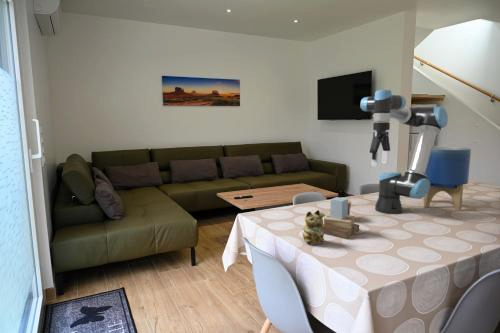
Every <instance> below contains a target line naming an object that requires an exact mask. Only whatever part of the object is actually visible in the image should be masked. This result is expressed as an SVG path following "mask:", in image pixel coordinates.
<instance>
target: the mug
mask: <svg viewBox="0 0 500 333" xmlns="http://www.w3.org/2000/svg"><path fill="white" fill-rule="evenodd" d="M351 206H352V201H351V200H348V215H351V214H350V213H351Z"/></svg>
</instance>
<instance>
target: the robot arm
mask: <svg viewBox="0 0 500 333" xmlns="http://www.w3.org/2000/svg"><path fill="white" fill-rule="evenodd" d="M406 103H407V99H406V98H405V97H404V96H403V95H399V94H397V95H396V94H393V93H392V90H390V89H379V90H376V91H375V93H374V96H365V97H363V98H362V99H361V100H360V109H361V110H362V111H363V112H373V115H372V117H373V121H374V122H373V126H372V127H373V128H372V129H373V131H374V132H373V134H372V138H371V139H372V140H371V143H370V144H371V145H370V149H369V153H370V154H371V159H370V162H371V164H370V165H371V166H370V167H376V168H377V167H378V163H379V162H378V161H379V160H378V157H379V152H378V151H379V148H380V146H381V147H382V153H381V164H386V165H388V164H389V162H388V161H389V152H390V151H391V145H390V144H391V143H390V138H389V130H390V127H391V125H390V124H391V123H390V121H391V119H393V120H396V121H397V122H398V123H399V124H403V125H406V126H409V127H413V128H417V129H418V130H419V133H418V135H417V140H416V143H415V146H414V147H415V148H414V151H413V153H412V157H411V159H410V160H411V161H410V164H409V168H408V170H406V171H405V172H404V175H402V172H398V171H397V172H395V171H394V172H393V171H390V172H382V173H381V174H380V175H379V185H378V198H377V201H376V203H375V206H374V211H377V212H379V213H384V214H392V215H393V214H394V215H395V214H402V212H403V205H402V202H401V197H406V198H409V199H417V200H418V199H419V200H421V199H423V198H424V197H425V196H426V194H427V193H428V191H429V187H430V185H429V184H430V182H429V180H428V179H427V175H426V174H425V173H426V169H427V166H428V162H429V159H430V155H431V151H432V148H433V146H434V145H435V144H434V143H435V140H436V136H437V135H438V134H439V133H441V130H442V129H444V128H445V127H446V126H448V121H449V119H448V118H449V117H448V112H447V110H446V108H445V107H444V106H425V107H419V106H418V107H407V104H406ZM375 131H376V132H375Z"/></svg>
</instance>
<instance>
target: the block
mask: <svg viewBox="0 0 500 333" xmlns="http://www.w3.org/2000/svg"><path fill="white" fill-rule="evenodd" d="M348 201H349V199H348V198H344V197H338V196H336V197H333V198H331V199H330V212H329V214H330V218H335V219H340V220H343V219H345V218H347V217H348Z"/></svg>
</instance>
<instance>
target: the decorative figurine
mask: <svg viewBox="0 0 500 333" xmlns="http://www.w3.org/2000/svg"><path fill="white" fill-rule="evenodd" d="M325 217H326V215H325V213H324V212H320V210H319V209H315V211H313V213H312V212H311V211H307V212H306V214H305V217H304V221H305V225H304V226H303V228H302V230H303V231H302V237H303V240H304V242H306V243H309V245H310V246H311V245H320V244H321V241H322V242H323V241H325V238H324V236H325V234H324V232H323V231H322V230H320V228H321V227H322V226H323V224H324V218H325Z"/></svg>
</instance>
